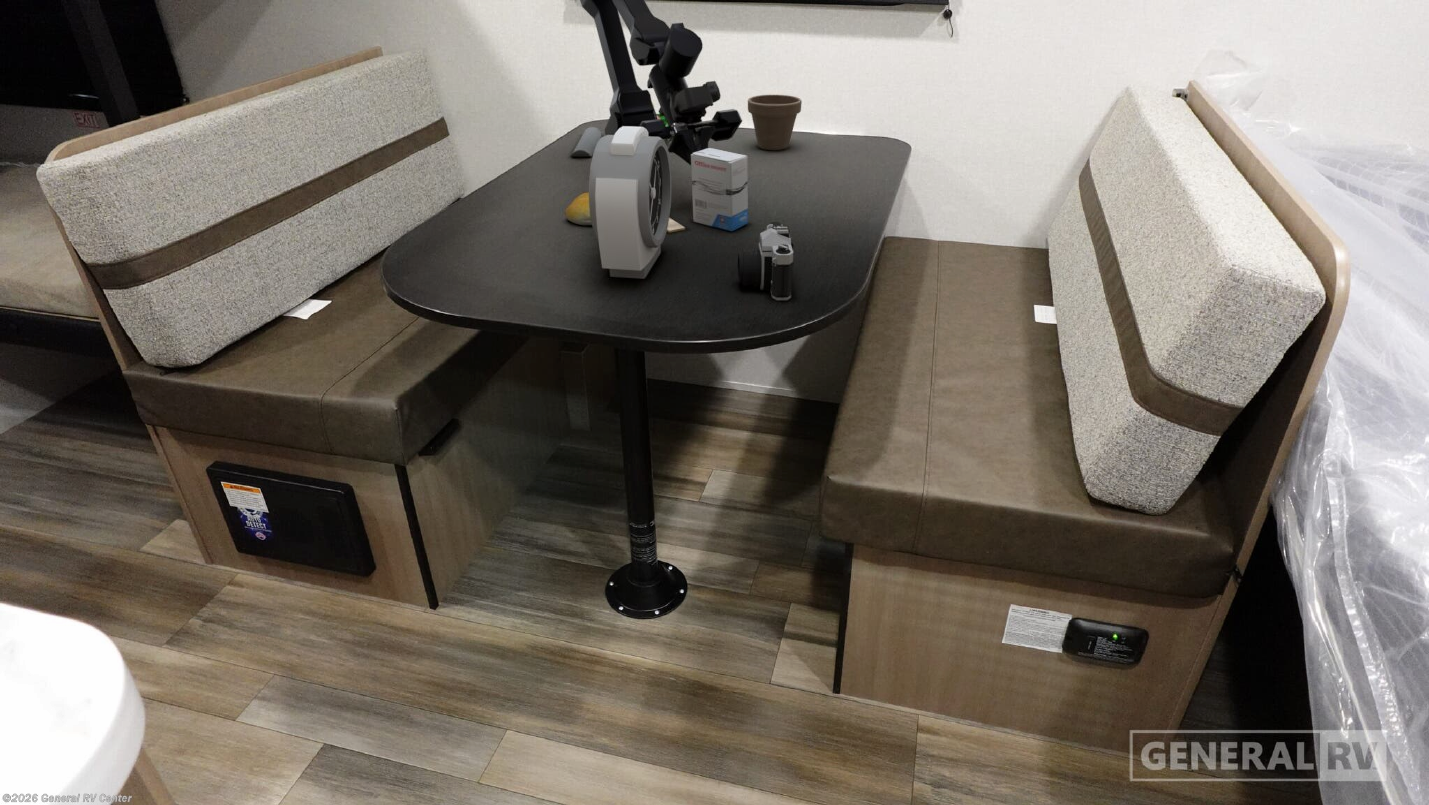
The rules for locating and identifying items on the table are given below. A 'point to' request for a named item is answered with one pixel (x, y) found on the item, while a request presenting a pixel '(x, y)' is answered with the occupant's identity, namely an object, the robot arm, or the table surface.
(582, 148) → the half round rod
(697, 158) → the ink box
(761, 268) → the camera
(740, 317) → the table surface
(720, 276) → the table surface
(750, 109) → the flower pot
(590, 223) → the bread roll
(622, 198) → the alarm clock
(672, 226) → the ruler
